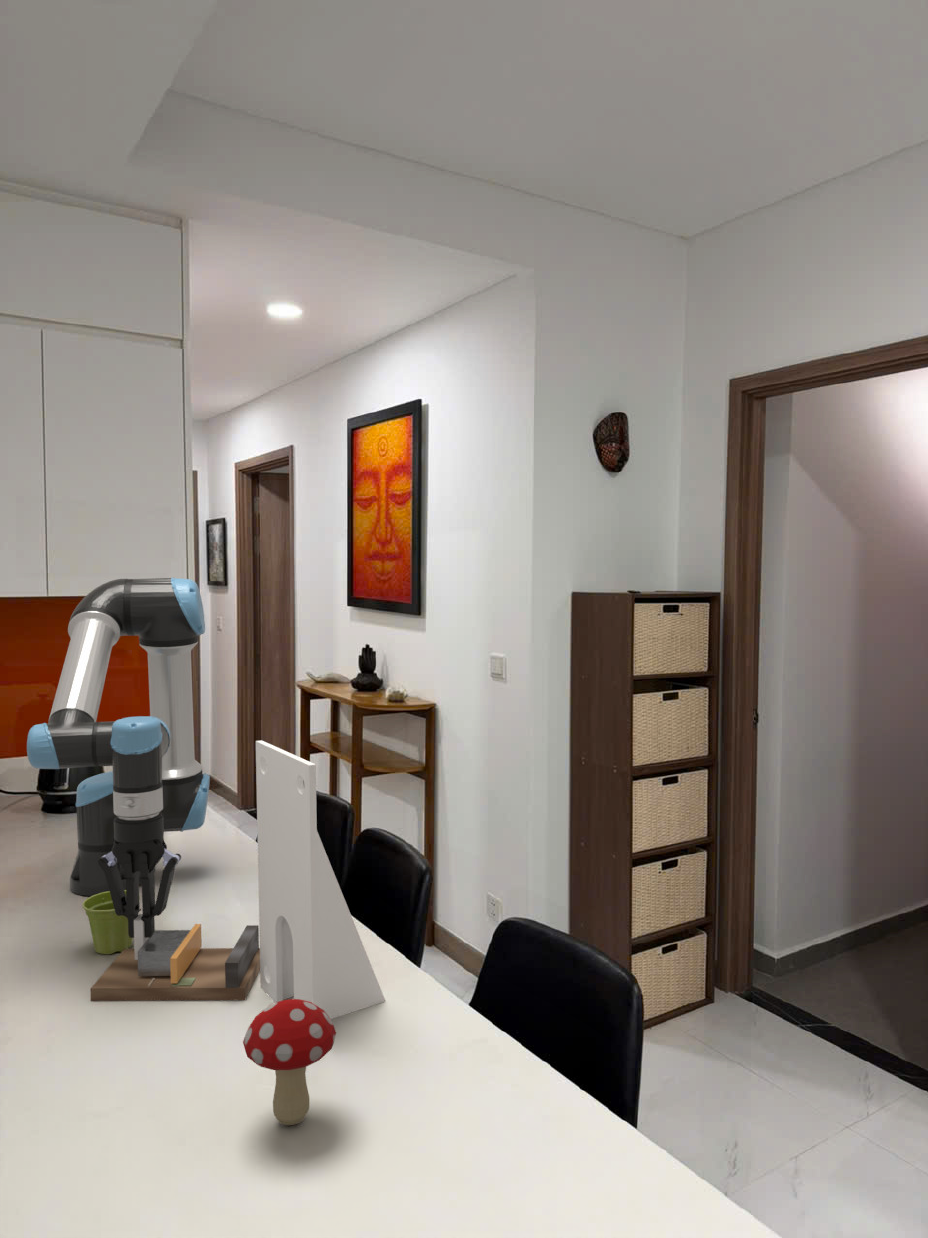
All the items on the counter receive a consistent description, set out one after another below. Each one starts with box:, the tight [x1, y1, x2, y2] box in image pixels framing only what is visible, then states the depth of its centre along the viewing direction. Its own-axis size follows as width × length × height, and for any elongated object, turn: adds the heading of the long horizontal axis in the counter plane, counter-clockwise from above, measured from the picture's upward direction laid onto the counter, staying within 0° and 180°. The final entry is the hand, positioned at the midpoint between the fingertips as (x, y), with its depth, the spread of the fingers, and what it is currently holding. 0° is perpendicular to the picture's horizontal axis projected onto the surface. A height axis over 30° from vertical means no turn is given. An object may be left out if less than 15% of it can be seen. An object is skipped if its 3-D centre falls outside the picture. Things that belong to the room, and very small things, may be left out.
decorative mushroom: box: [242, 998, 337, 1126], centre depth 108 cm, size 11×11×15 cm
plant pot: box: [82, 890, 141, 955], centre depth 157 cm, size 9×9×9 cm
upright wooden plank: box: [170, 923, 203, 983], centre depth 145 cm, size 13×1×4 cm, turn 0°
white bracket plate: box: [255, 740, 386, 1020], centre depth 137 cm, size 20×14×40 cm
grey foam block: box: [138, 929, 191, 976], centre depth 145 cm, size 8×6×4 cm
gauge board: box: [90, 924, 260, 1002], centre depth 145 cm, size 14×24×6 cm, turn 90°
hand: (142, 956), depth 145 cm, fingers closed
